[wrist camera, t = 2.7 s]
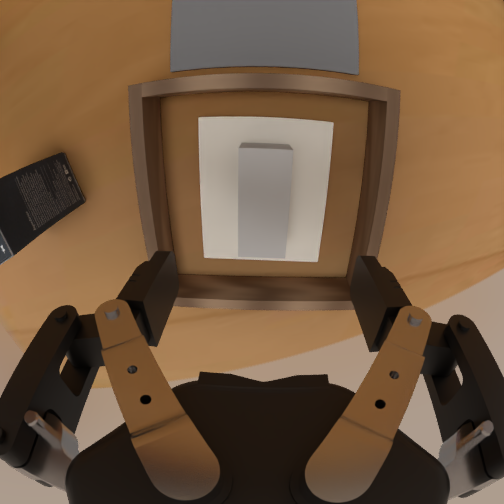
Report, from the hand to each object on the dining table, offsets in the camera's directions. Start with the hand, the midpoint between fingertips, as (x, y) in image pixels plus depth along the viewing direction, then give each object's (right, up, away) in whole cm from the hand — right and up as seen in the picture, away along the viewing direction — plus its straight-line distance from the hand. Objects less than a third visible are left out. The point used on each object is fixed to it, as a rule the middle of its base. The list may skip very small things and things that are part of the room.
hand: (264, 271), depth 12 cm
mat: (0, +20, +2) cm, 20 cm away
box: (-21, +7, +10) cm, 24 cm away
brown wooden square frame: (0, +6, +10) cm, 11 cm away
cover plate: (0, +6, +10) cm, 12 cm away
